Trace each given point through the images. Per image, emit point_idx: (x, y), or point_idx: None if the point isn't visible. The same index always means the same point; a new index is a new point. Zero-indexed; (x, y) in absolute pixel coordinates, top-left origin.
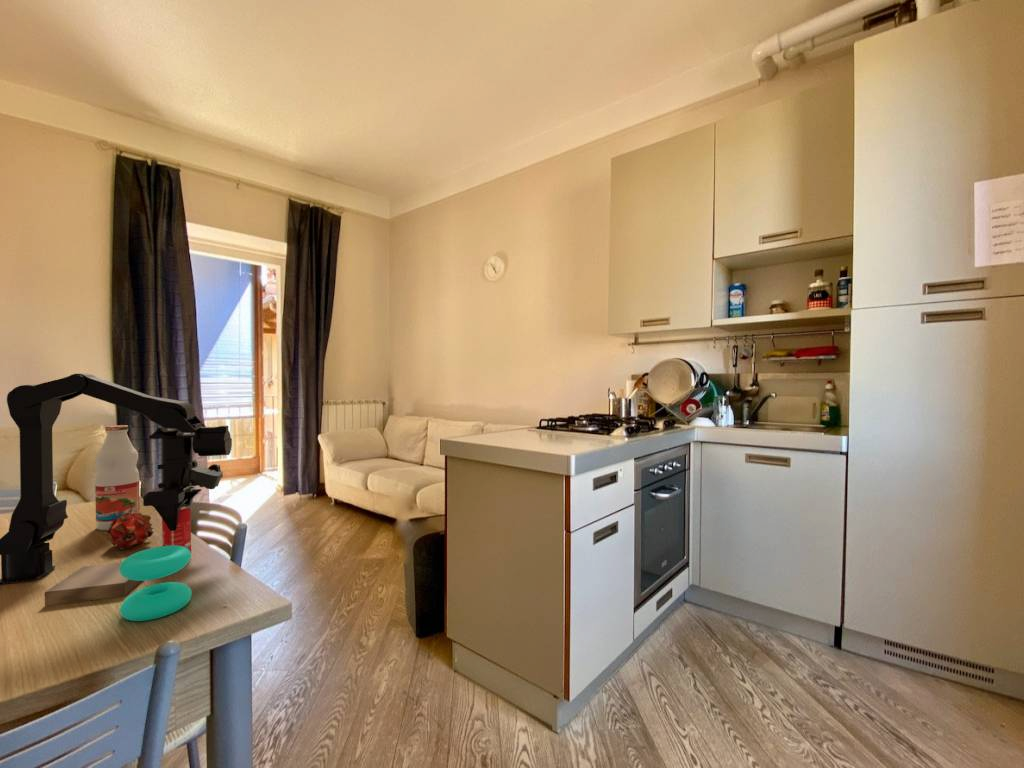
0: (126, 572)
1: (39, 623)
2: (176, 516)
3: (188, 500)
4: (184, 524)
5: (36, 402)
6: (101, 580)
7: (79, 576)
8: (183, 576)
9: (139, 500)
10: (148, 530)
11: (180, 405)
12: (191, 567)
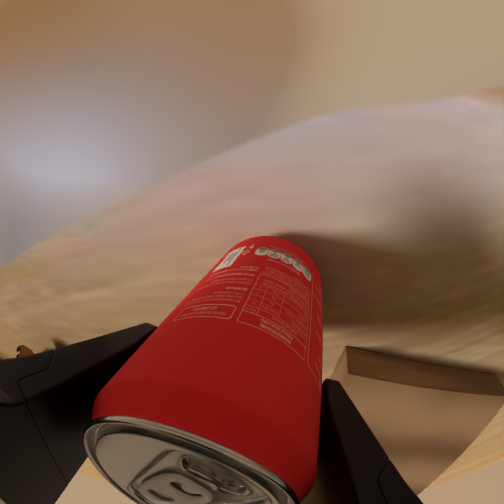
0: None
1: (488, 452)
2: (389, 464)
3: (29, 415)
4: (307, 352)
5: None
6: (444, 445)
7: None
8: (476, 251)
9: None
10: (28, 355)
11: None
12: (402, 226)
